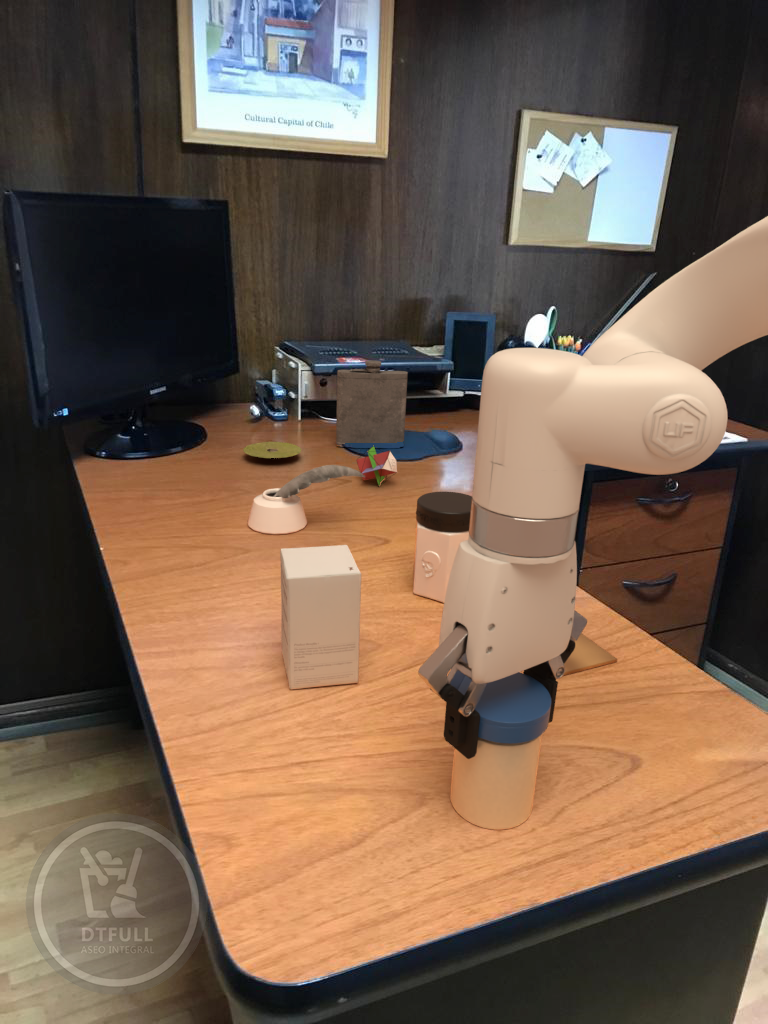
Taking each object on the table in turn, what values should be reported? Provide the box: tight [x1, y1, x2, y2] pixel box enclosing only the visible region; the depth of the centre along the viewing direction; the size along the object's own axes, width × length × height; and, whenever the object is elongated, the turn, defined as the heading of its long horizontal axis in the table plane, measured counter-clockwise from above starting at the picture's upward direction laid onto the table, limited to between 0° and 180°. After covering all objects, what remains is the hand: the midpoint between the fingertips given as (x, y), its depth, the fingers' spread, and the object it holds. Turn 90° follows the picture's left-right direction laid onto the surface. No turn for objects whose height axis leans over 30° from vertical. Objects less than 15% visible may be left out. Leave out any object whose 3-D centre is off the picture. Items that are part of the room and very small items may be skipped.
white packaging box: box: [279, 544, 362, 690], centre depth 79 cm, size 7×7×13 cm
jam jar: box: [449, 733, 544, 831], centre depth 62 cm, size 7×7×10 cm
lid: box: [458, 672, 551, 744], centre depth 61 cm, size 8×8×2 cm
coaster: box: [562, 632, 618, 677], centre depth 87 cm, size 10×10×1 cm
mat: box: [242, 441, 302, 459], centre depth 151 cm, size 11×11×2 cm
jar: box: [412, 491, 472, 604], centre depth 99 cm, size 9×8×12 cm
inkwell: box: [247, 464, 365, 536], centre depth 118 cm, size 9×18×10 cm, turn 92°
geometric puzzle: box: [355, 445, 398, 486], centre depth 139 cm, size 7×7×8 cm
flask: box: [335, 359, 409, 445], centre depth 159 cm, size 4×14×18 cm, turn 96°
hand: (498, 729), depth 62 cm, fingers closed on lid, 7 cm apart
